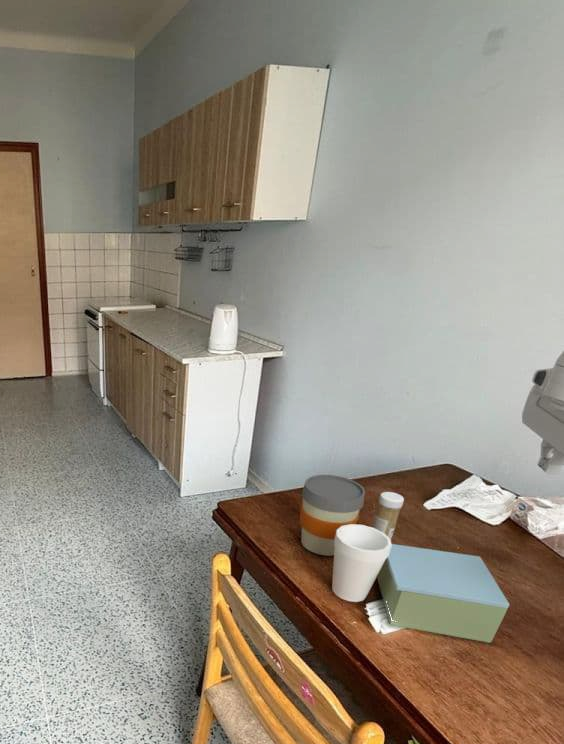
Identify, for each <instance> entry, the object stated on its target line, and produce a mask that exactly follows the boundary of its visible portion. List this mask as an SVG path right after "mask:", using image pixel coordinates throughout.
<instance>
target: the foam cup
mask: <svg viewBox="0 0 564 744" xmlns="http://www.w3.org/2000/svg"><path fill="white" fill-rule="evenodd" d="M392 544H393V543H392V538H391V539H390V538H389V537H388V536H387V535H386V534H385V533H383V532H381V531H379V530H377V529H375V528H372V526H369V525H368V526H367V525H364V524H357V523H356V524H349V525H344V526H341V527H340V528H339V529H337V531H336V535H335V539H334V546H335V553H334V555H333V568H332V579H331V581H332V582H331V590H332V592H333V593H334V595H335V596H337V598H340V599H341V600H344V601H347V602H350V603H359V602H362V601H364V600H365V599H366V598H367V596H368V594H369V593H370V591H371V588H372V587H373V584H374V583H375V581H376V579H377V578H378V575H379V572H380V569H381V567H382V565H383V563H384V561H385V559H386V558H387V557H388V556H389V553H390V550H391V547H392Z"/></svg>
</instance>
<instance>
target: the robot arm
mask: <svg viewBox="0 0 564 744" xmlns="http://www.w3.org/2000/svg"><path fill="white" fill-rule="evenodd" d="M531 382H532V383H533V384H534V385H532V387H531V388H530V390H529V393H528V396H527V397H526V400H525V403H524V406H523V409H522V414H521V422H522V424H524V426H526V427H527V428H529V429H530V430H531V431H532V432H533V433H535V434H536V435H537V436H539V437H540V438H541V439H542V441H541V443H540V458H539V460H538V462H537V466H538V467H539V468H540V469H541V470H542V471H543V472H544V473H545V474H547V475H554V476H555V475H558V474H560V472H561V470H562V468H563V466H564V350H563V351H562V353H561V354H559V356H558V357H557V358H556V361H555V362H554V365H553V367H549V368H542V369H537V370H535V372H534V374H533V375H532V379H531Z"/></svg>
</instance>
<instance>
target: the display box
mask: <svg viewBox="0 0 564 744" xmlns="http://www.w3.org/2000/svg"><path fill="white" fill-rule="evenodd" d="M376 579H377V582H378V583H377V584H378V585H379V589H380V593H381V597H382V600H383V604H384V607H385V611H386V615H387V618H388V621H389V625H390V626H395V627H401V628H405V629H406V628H407V629H411V630H418V631H421V632H422V631H423V632H429V633H433V634H434V633H435V634H438V635H446V636H450V637H455V638H461V639H466V640H472V641H478V642H482V643H483V642H484V643H489V644H491V643H492V642H493V640H494V638H495V636H496V633H497V632H498V629H499V628H500V625H501V623H502V622H503V619H504V618H505V615H506V613H507V611H508V608H509V607H508V608H503V607H497V606H491V605H485V604H479V603H473V602H467V601H461V600H455V599H449V598H443V597H437V596H431V595H425V594H419V593H413V592H407V591H401V590H396V587H395V584H394V581H393V578H392V575H391V572H390V569H389V566H388V563H387V559H385V561H384V563H383V565H382V567H381V569H380V571H379V573H378V575H377V577H376ZM386 601H387V603H386ZM387 605H388V607H387ZM388 608H389V610H388ZM389 611H390V614H391V617H392V620H394V621H391V617H390V614H389ZM395 621H396V622H395Z"/></svg>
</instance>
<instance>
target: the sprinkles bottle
mask: <svg viewBox="0 0 564 744" xmlns="http://www.w3.org/2000/svg"><path fill="white" fill-rule="evenodd" d="M404 502H405V498H404V496H402V495H401V494H399V493H397V492H393V491H383V492H381V493H380V495H379V498H378V504H377V507H376V512H375V514H374V518H373V521H372V524H371V527H372V528H375V529H377V530H379V531H381V532H383V533H385V534H386V535H387V536H388V537H389V538H390V539H391V540H392V538H393V535H394V532H395V529H396V525H397V522H398V518H399V514H400V511H401V509H402V508H403V505H404Z"/></svg>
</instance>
